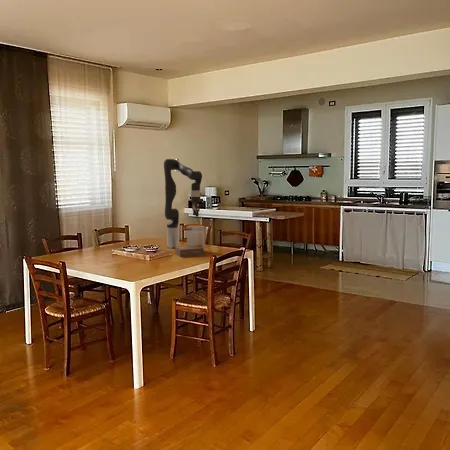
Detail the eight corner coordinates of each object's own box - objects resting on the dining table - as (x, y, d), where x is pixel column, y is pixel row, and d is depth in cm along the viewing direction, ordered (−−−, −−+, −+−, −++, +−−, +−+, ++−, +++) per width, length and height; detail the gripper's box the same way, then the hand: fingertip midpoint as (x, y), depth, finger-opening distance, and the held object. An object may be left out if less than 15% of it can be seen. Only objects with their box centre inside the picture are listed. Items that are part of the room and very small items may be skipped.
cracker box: (204, 250, 394) (204, 225, 391) (203, 252, 388) (203, 226, 385) (188, 250, 395) (188, 225, 393) (186, 251, 389) (186, 226, 387)
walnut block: (175, 254, 379) (174, 247, 379) (197, 252, 387) (197, 245, 386) (180, 257, 367) (180, 249, 366) (203, 255, 374) (203, 248, 373)
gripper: (189, 195, 392) (189, 215, 394) (193, 196, 378) (193, 216, 380) (197, 195, 394) (197, 214, 396) (202, 196, 381) (202, 216, 383)
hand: (195, 215), depth 388 cm, fingers open, 8 cm apart
